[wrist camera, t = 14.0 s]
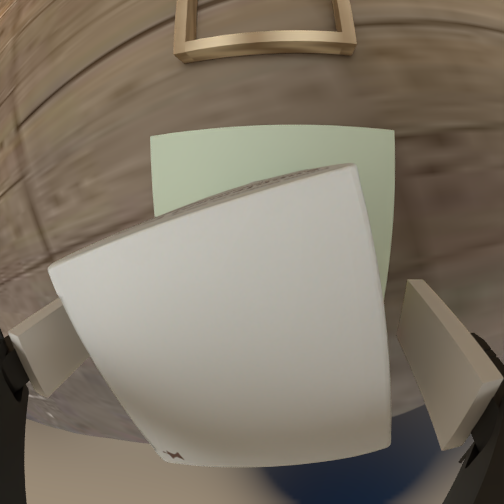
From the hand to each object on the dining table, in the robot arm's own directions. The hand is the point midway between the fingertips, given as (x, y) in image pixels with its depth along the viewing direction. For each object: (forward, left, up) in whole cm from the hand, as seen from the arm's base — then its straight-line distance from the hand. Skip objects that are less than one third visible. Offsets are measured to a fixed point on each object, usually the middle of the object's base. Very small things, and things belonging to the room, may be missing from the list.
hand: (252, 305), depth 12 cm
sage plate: (0, 0, -12) cm, 12 cm away
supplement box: (0, 0, -12) cm, 12 cm away
